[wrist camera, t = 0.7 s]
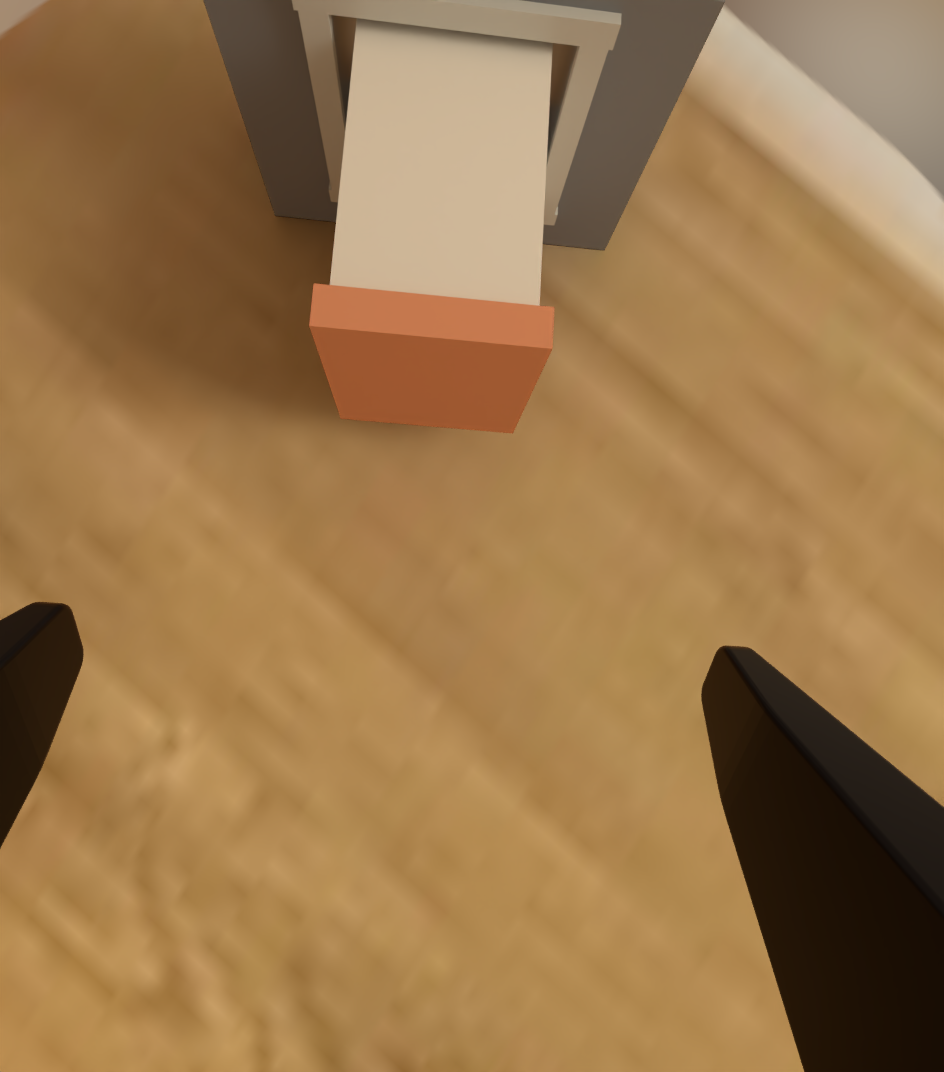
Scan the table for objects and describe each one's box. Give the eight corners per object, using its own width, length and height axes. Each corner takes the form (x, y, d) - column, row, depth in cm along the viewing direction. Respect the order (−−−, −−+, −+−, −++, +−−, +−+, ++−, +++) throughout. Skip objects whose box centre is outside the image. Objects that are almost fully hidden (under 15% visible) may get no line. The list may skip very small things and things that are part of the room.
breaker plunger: (512, 433, 22) (552, 348, 15) (340, 418, 21) (308, 325, 15) (528, 149, 23) (570, -34, 17) (368, 130, 23) (350, -64, 17)
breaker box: (604, 257, 25) (724, 13, 15) (274, 223, 24) (178, -59, 15) (607, 152, 26) (725, -147, 16) (286, 115, 25) (202, -224, 15)
